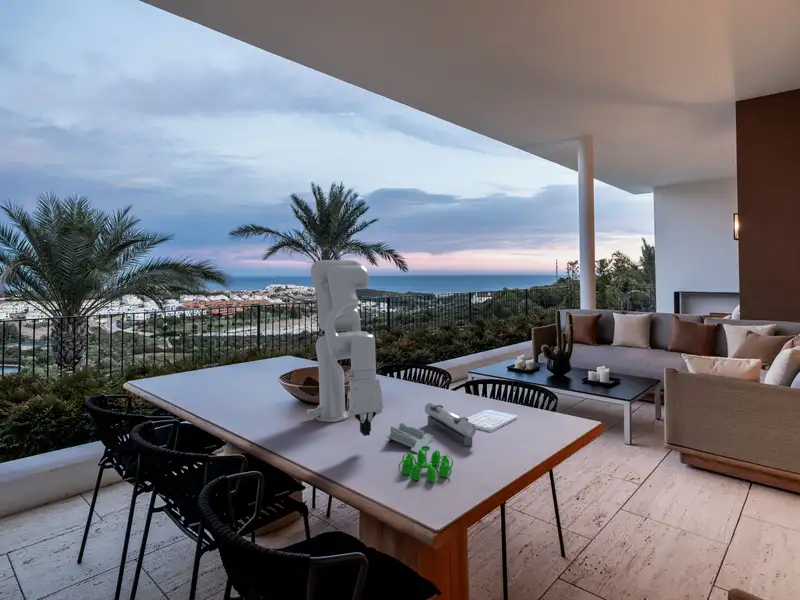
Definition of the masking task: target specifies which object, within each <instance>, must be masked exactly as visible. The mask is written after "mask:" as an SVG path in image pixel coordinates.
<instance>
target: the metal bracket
mask: <svg viewBox="0 0 800 600" xmlns="http://www.w3.org/2000/svg"><path fill="white" fill-rule="evenodd" d="M385 437H387V439H388V442H389V441H390V442H392V440H393V441H396V442H398V443H400V444H403V445H405V446H407V447H410V451H411V452H413V453H415V454H417V455H418V452H419V450H420V449H421V447H423V446H429V444H430V443H431V442H432V441H434V439H435V435H432V434H431V433H427V432H426V433H425V432H424V430H421V429H419V428H416V427H414V426H407V425H406V423H404V422H401V423H399V424H397V426H396V427H393V426H390V431H389V432H388V433H387V434H386V435H385ZM422 451H423V450H422ZM423 452H424V451H423Z"/></svg>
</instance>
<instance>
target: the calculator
mask: <svg viewBox="0 0 800 600" xmlns="http://www.w3.org/2000/svg"><path fill="white" fill-rule="evenodd" d="M466 418H467V419H468V422H470V423H472V424H474V425H475V427H476V430H479V429H480V430H479V431H483V430H484V431H483V432H487V431H488V433H492V432H495V431H496V430H499V429H500V428H502V427H504V426H506V425H508V424H510V423H512V422H514V421H516V420H518V419H517V418H518V415H517V414H514V413H509V412H505V411H504V412H503V411H501V410H500V411H498V410H494V409H484V410H481V411H480V412H477V413H475V414H473V415H471V416H468V417H466ZM515 419H516V420H515ZM513 420H514V421H513ZM511 421H512V422H511ZM509 422H510V423H509ZM505 424H506V425H505ZM503 425H504V426H503ZM501 426H502V427H501ZM494 430H495V431H494Z"/></svg>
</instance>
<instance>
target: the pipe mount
mask: <svg viewBox="0 0 800 600" xmlns="http://www.w3.org/2000/svg"><path fill="white" fill-rule="evenodd" d="M424 413H425V414H426V415H427V425H428V426H430V427H432V428H433V429H435V430H436V431H437V432H440V433H441V434H443V435H444V436H446V437H447V438H449V439H451V440H452V441H454V442H455V443H457V444H459V445H461V446H462V447H464V448H466V447H469V446H470V447H471V446H473V437H474V436H475V434H476V432H477V429H476V427H475V425H474V424H472V423H470V422H468V419H467V418H468V417H465V416H464V417H462V416H461V417H460V416H458V415H456V414H454V413H452V412H451V411H449V410H447V409H445V408H444V405H442V404H435V403H433V402H428V403H427V404H426V405H425V406H424Z"/></svg>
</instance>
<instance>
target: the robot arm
mask: <svg viewBox="0 0 800 600" xmlns="http://www.w3.org/2000/svg"><path fill="white" fill-rule="evenodd" d="M369 275H370V274H369V272H368V270H367V268H366V267H365V266H364V265H363V264H361V263H359V262H358V261H357V260H350V259H349V260H348V259H345V260H344V259H340V260H339V259H323V260H322V259H321V260H317V261H315V262H313V263H312V265H311V267H310V278H311V281H312V285H313V289H314V290H315V293H316V300H317V301H316V302H317V320H318V321H317V322H318V327H319V329H320V330H321V331H323V332H324V334H325V335H323V336H322V335H321V336H320V337H319V338H318V339H316V341H315V342H316V343H315V352H316V357H317V365H318V380H319V381H318V384H319V387H318V388H319V390H318V391H319V395H318V396H319V405H317V407H315V408H313V409H307V410H306V412H307V413H306V414H307V415H308V416H309V415H310V416H311V415H312V416H315V419H316V420H317V421H319V422H322V423H336V422H341V421H345V420H347V419H349V418H350V419H356V420H357V421H358V422H359V431H360V433H361V434H362V435H363V436H364V437H366V436H370V435H371V434H370V433H371V431H372V425H371V424H372V421H373V419H374V418H375V417H376V415H377V416H378V415H380V414H382V412H383V411H382V410H383V408H384V407H383V405H384V403H383V395H382V388H381V387H382V386H381V382H380V378H379V377H378V376H377V372H376V371H377V368H376V366H377V361H376V338H375V336H374V334H371V333H368V332H367V331H362V329H361V327H362V326H361V316H360V312H359V309H358V307H359V298H358V296H357V291H356V290H364V289H366V288H367V287H369V282H370V276H369ZM338 331H339V332H338ZM341 331H344V332H341ZM346 359H350V370H349V371H348V372H346V377H347V378H348V377H349V378H350V379H349V382H348V388H347V389H348V390H347V401H346V397H345V393H346V392H345V371H344V368H343V367H342V366H341V364H339V362H338V361H340V360H346ZM346 402H347V403H346ZM346 404H347V405H346ZM346 406H347V410H348V411H347V410H346ZM364 414H365V415H364Z"/></svg>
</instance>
